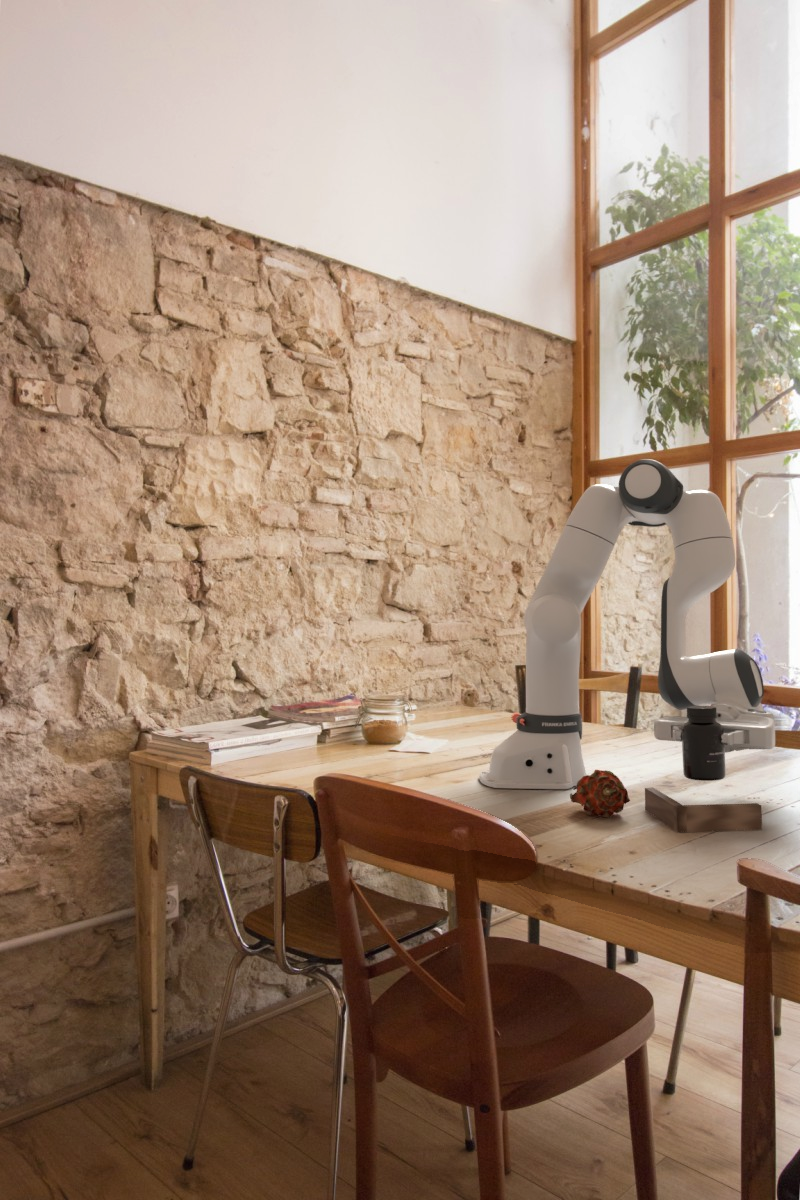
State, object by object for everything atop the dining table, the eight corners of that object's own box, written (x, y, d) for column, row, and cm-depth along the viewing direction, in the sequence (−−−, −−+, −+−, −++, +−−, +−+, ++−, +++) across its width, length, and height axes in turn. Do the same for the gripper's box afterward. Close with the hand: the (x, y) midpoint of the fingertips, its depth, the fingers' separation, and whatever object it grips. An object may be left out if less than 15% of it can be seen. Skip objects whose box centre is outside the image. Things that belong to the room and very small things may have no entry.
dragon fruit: (621, 833, 144) (579, 827, 155) (650, 798, 148) (607, 795, 158) (592, 794, 143) (552, 791, 154) (622, 760, 147) (581, 759, 157)
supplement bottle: (721, 782, 141) (717, 709, 141) (679, 780, 145) (675, 709, 145) (729, 774, 147) (725, 704, 147) (689, 772, 150) (685, 704, 151)
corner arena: (677, 832, 138) (677, 807, 138) (645, 810, 153) (644, 787, 153) (761, 830, 139) (761, 805, 139) (721, 808, 154) (721, 785, 154)
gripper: (667, 706, 162) (640, 715, 151) (782, 713, 150) (763, 723, 139) (668, 740, 162) (641, 751, 151) (783, 748, 150) (764, 761, 139)
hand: (700, 737), depth 145 cm, fingers closed on supplement bottle, 7 cm apart
